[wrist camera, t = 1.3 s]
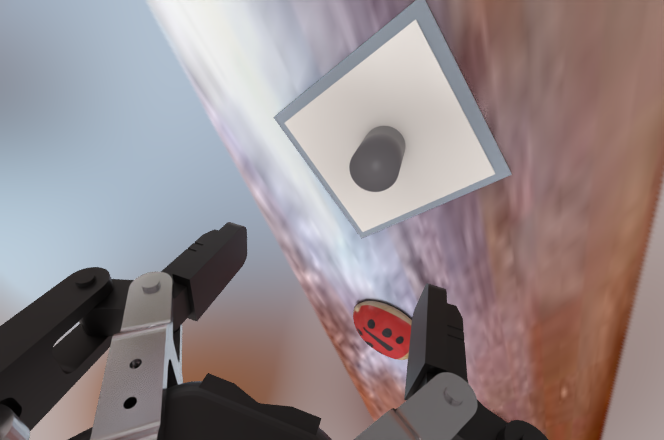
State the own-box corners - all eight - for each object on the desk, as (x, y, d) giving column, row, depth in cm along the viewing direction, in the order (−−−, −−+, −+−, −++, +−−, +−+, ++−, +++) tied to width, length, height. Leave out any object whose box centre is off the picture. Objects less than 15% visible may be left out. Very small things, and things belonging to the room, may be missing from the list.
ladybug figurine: (401, 351, 42) (398, 376, 39) (342, 311, 41) (335, 333, 38) (435, 331, 38) (435, 356, 35) (371, 286, 37) (366, 308, 34)
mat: (276, 115, 29) (273, 117, 28) (422, -5, 21) (422, -6, 21) (362, 235, 33) (361, 238, 33) (510, 171, 26) (511, 174, 25)
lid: (287, 120, 28) (257, 139, 24) (416, 19, 22) (409, 18, 17) (364, 228, 32) (351, 263, 27) (494, 170, 25) (506, 203, 21)
